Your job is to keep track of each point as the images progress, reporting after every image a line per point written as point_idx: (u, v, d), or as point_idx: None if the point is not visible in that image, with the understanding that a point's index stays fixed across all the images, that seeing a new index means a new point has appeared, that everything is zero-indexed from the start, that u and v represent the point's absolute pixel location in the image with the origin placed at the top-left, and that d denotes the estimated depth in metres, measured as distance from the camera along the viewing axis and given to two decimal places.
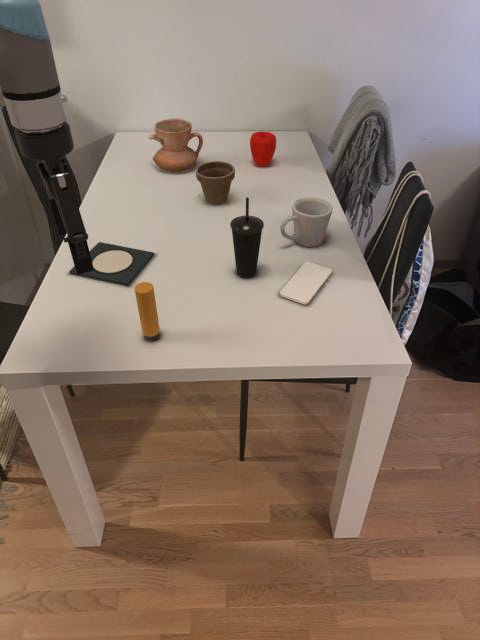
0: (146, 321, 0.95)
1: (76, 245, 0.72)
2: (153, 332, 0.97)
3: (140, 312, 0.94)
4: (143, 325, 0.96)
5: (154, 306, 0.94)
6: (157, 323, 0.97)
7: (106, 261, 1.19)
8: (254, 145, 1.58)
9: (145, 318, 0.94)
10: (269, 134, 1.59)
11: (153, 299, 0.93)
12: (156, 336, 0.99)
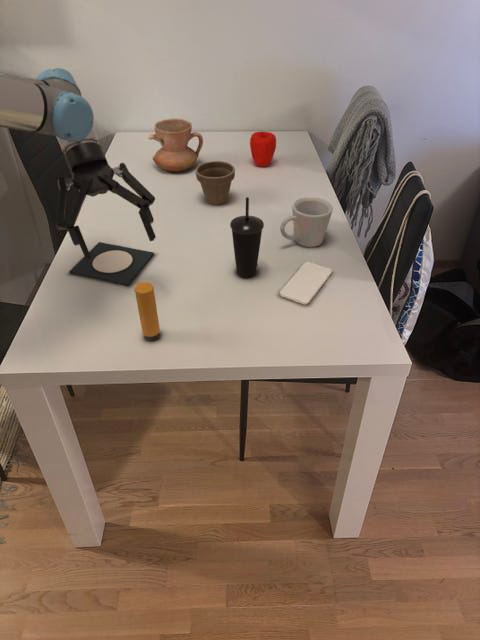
0: (146, 321, 0.95)
1: (149, 209, 0.98)
2: (153, 332, 0.97)
3: (140, 312, 0.94)
4: (143, 325, 0.96)
5: (154, 306, 0.94)
6: (157, 323, 0.97)
7: (106, 261, 1.19)
8: (254, 145, 1.58)
9: (145, 318, 0.94)
10: (269, 134, 1.59)
11: (153, 299, 0.93)
12: (156, 336, 0.99)
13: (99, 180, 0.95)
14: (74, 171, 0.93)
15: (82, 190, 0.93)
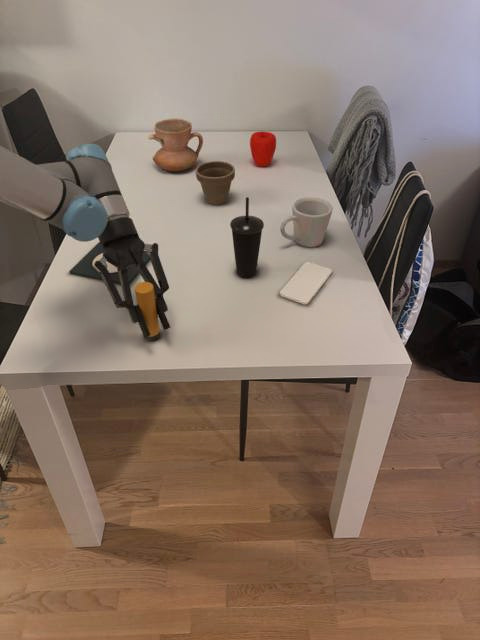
0: (146, 321, 0.95)
1: (163, 298, 0.96)
2: (153, 332, 0.97)
3: None
4: None
5: (154, 306, 0.94)
6: (157, 323, 0.97)
7: (106, 261, 1.19)
8: (254, 145, 1.58)
9: (145, 318, 0.94)
10: (269, 134, 1.59)
11: (153, 299, 0.93)
12: (156, 336, 0.99)
13: (128, 253, 0.94)
14: (106, 246, 0.92)
15: (122, 267, 0.92)
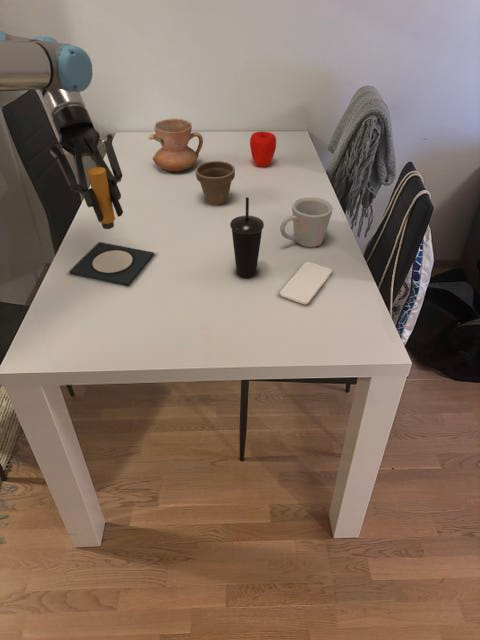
0: (100, 206, 1.01)
1: (117, 186, 1.02)
2: (108, 219, 1.04)
3: None
4: None
5: (107, 191, 1.00)
6: (112, 210, 1.03)
7: (106, 261, 1.19)
8: (254, 145, 1.58)
9: (100, 203, 1.01)
10: (269, 134, 1.59)
11: (106, 183, 0.99)
12: (112, 225, 1.06)
13: (83, 141, 1.00)
14: (62, 133, 0.99)
15: (77, 152, 0.99)
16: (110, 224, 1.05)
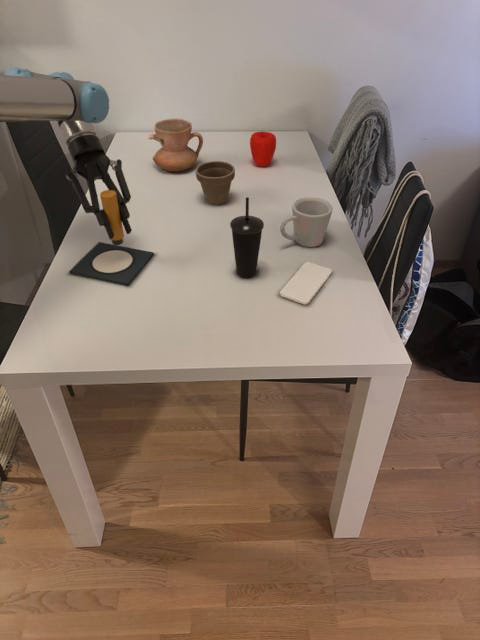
0: (111, 225, 1.12)
1: None
2: (118, 236, 1.14)
3: None
4: None
5: (117, 211, 1.10)
6: (121, 228, 1.14)
7: (106, 261, 1.19)
8: (254, 145, 1.58)
9: (110, 222, 1.11)
10: (269, 134, 1.59)
11: (116, 204, 1.09)
12: (121, 241, 1.16)
13: (95, 166, 1.10)
14: (76, 159, 1.09)
15: (90, 177, 1.09)
16: (119, 241, 1.15)
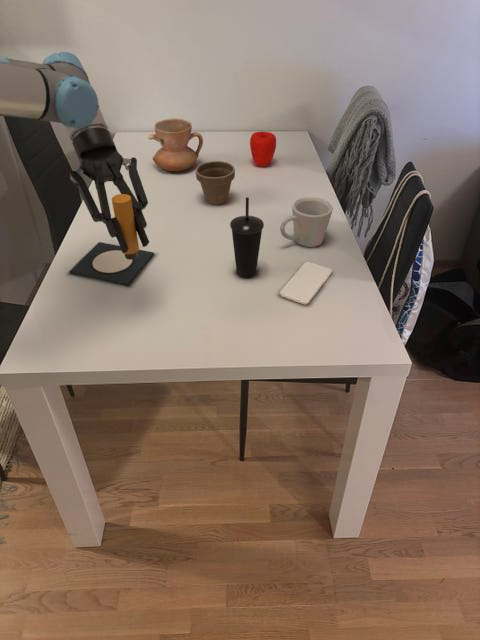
0: (124, 236, 0.93)
1: (142, 213, 0.94)
2: (132, 249, 0.95)
3: None
4: None
5: (132, 219, 0.92)
6: (136, 240, 0.95)
7: (106, 261, 1.19)
8: (254, 145, 1.58)
9: (124, 233, 0.92)
10: (269, 134, 1.59)
11: (131, 211, 0.91)
12: (135, 255, 0.97)
13: (106, 165, 0.92)
14: (82, 157, 0.90)
15: (99, 178, 0.90)
16: (134, 254, 0.97)
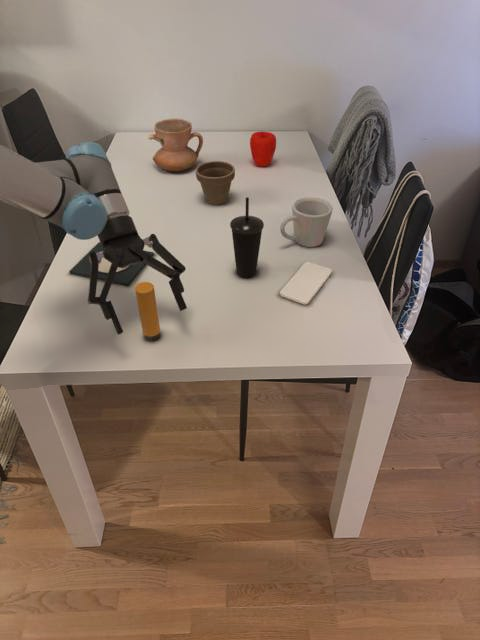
0: (146, 321, 0.95)
1: None
2: (154, 332, 0.97)
3: (140, 312, 0.94)
4: (143, 325, 0.96)
5: (154, 306, 0.94)
6: (157, 323, 0.97)
7: (106, 261, 1.19)
8: (254, 145, 1.58)
9: (146, 318, 0.94)
10: (269, 134, 1.59)
11: (153, 299, 0.93)
12: (156, 336, 0.99)
13: (130, 253, 0.94)
14: (105, 245, 0.92)
15: (114, 264, 0.91)
16: (155, 336, 0.99)
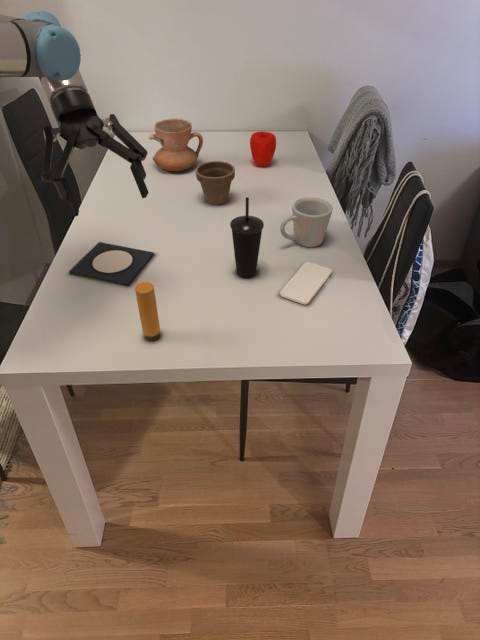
0: (146, 321, 0.95)
1: (141, 164, 0.93)
2: (154, 332, 0.97)
3: (140, 312, 0.94)
4: (143, 325, 0.96)
5: (154, 306, 0.94)
6: (157, 323, 0.97)
7: (106, 261, 1.19)
8: (254, 145, 1.58)
9: (146, 318, 0.94)
10: (269, 134, 1.59)
11: (153, 299, 0.93)
12: (156, 336, 0.99)
13: (88, 131, 0.89)
14: (61, 120, 0.87)
15: (69, 140, 0.87)
16: (155, 336, 0.99)
